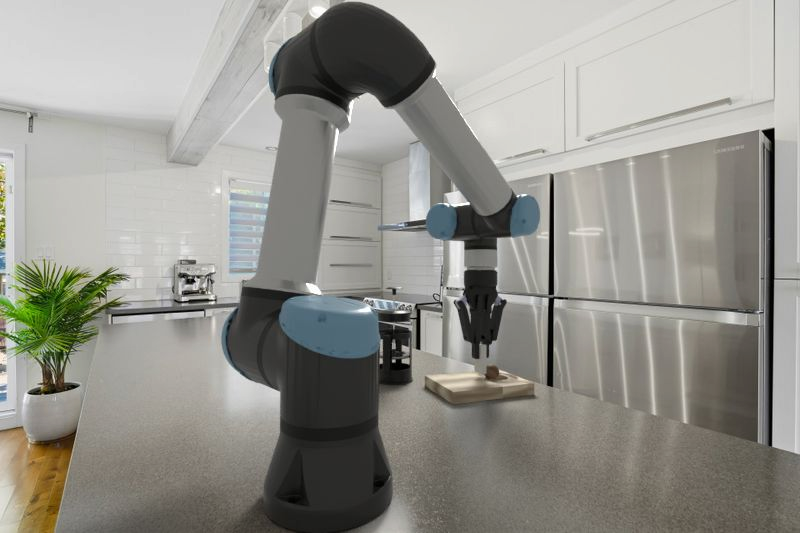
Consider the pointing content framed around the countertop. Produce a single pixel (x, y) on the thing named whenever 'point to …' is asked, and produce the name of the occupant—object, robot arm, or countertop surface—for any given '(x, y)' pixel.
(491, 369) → the ball
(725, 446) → the countertop surface
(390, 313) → the french press
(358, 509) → the robot arm
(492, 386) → the cutting board
